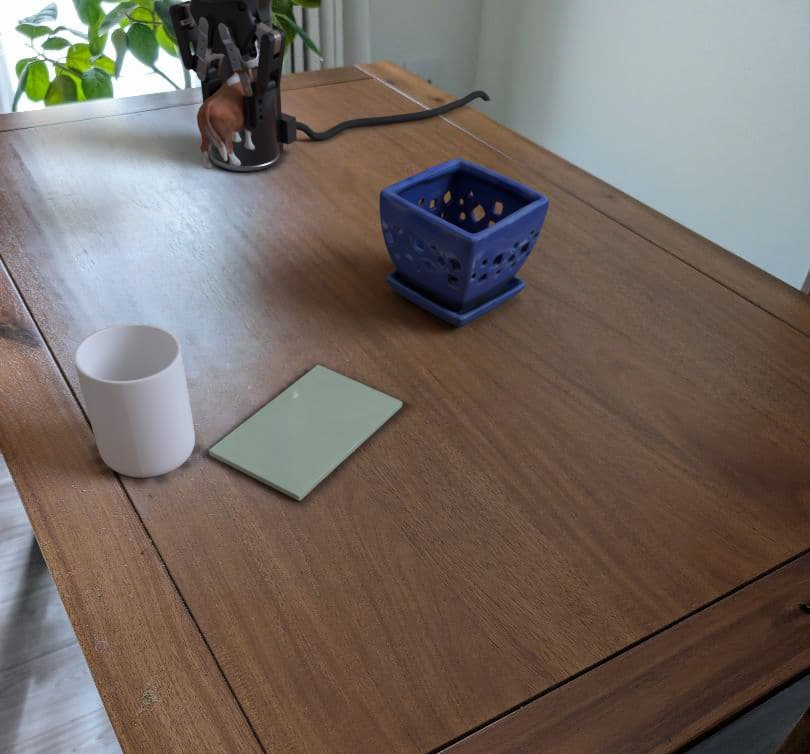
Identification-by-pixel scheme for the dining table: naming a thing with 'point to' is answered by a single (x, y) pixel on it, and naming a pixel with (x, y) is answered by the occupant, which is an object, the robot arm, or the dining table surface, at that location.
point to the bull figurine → (223, 121)
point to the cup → (136, 398)
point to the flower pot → (459, 238)
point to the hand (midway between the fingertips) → (235, 121)
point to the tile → (306, 431)
